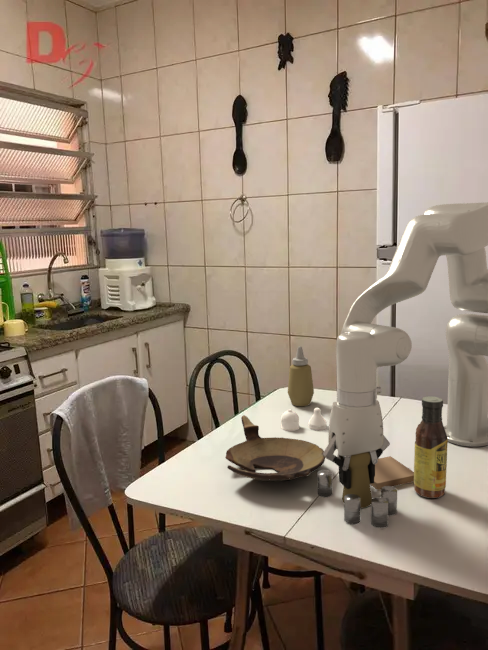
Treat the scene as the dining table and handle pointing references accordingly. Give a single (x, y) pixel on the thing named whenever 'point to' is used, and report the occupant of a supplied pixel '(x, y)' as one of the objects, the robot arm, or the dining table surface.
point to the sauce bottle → (430, 450)
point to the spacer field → (353, 502)
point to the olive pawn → (359, 479)
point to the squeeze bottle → (300, 380)
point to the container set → (292, 421)
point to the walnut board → (391, 473)
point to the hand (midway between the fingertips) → (357, 482)
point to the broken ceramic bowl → (273, 456)
